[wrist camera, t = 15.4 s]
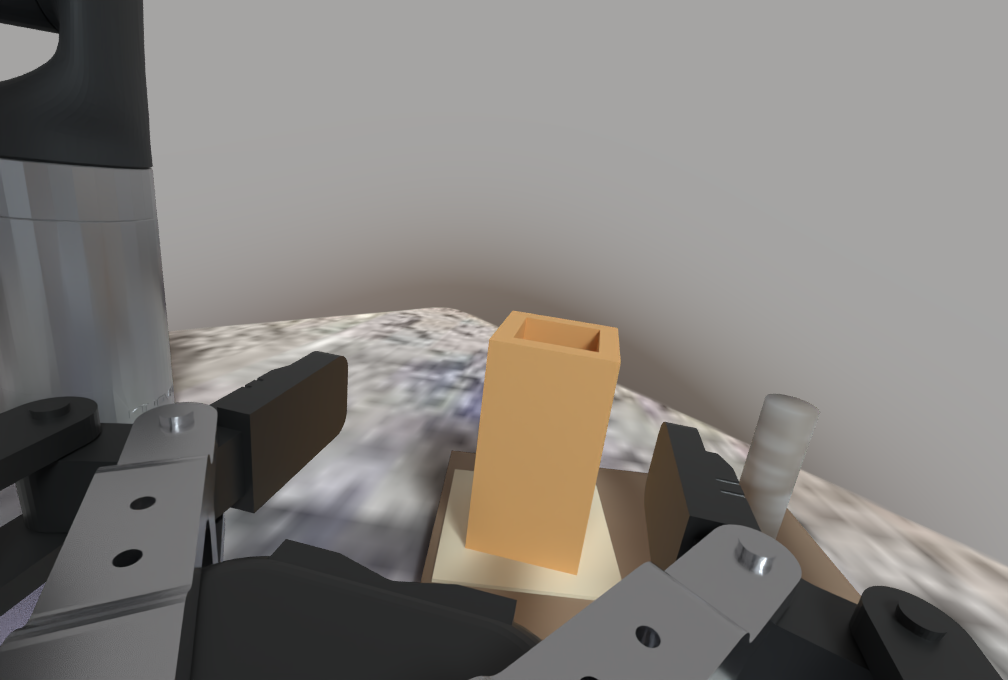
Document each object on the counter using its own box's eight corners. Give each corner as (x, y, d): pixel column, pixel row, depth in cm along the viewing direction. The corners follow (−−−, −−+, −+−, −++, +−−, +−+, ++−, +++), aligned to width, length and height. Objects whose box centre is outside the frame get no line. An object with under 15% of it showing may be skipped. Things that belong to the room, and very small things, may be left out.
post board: (407, 655, 21) (424, 432, 17) (449, 469, 34) (464, 324, 31) (923, 712, 21) (1032, 503, 18) (763, 506, 34) (810, 365, 31)
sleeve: (576, 575, 24) (620, 362, 20) (465, 547, 24) (489, 339, 21) (582, 506, 29) (617, 328, 26) (490, 485, 30) (512, 310, 26)
